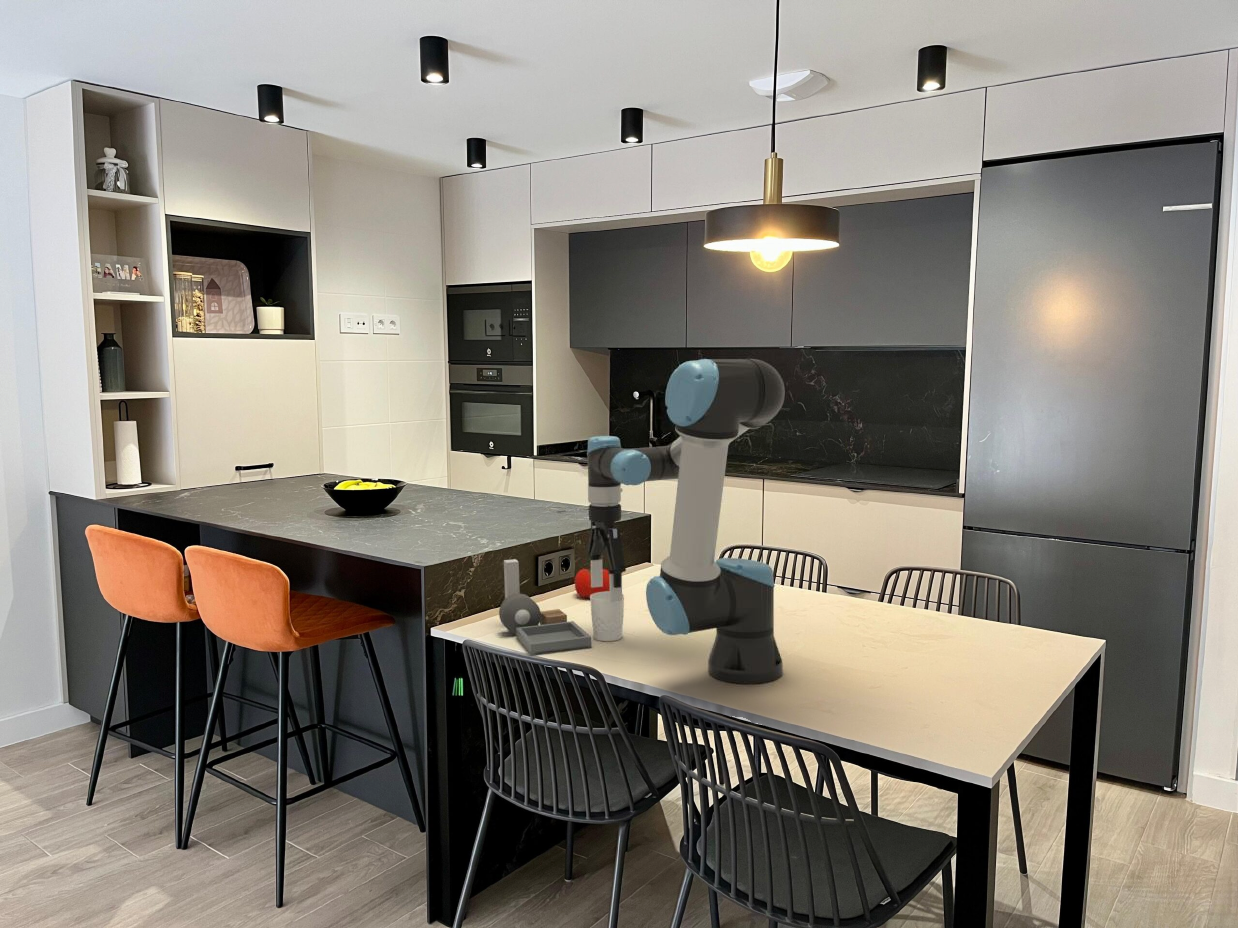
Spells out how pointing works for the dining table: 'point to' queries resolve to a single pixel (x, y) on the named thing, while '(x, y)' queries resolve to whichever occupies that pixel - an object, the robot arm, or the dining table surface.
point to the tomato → (584, 583)
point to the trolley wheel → (516, 601)
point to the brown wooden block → (552, 617)
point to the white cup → (606, 617)
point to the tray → (553, 638)
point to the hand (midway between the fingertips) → (606, 593)
